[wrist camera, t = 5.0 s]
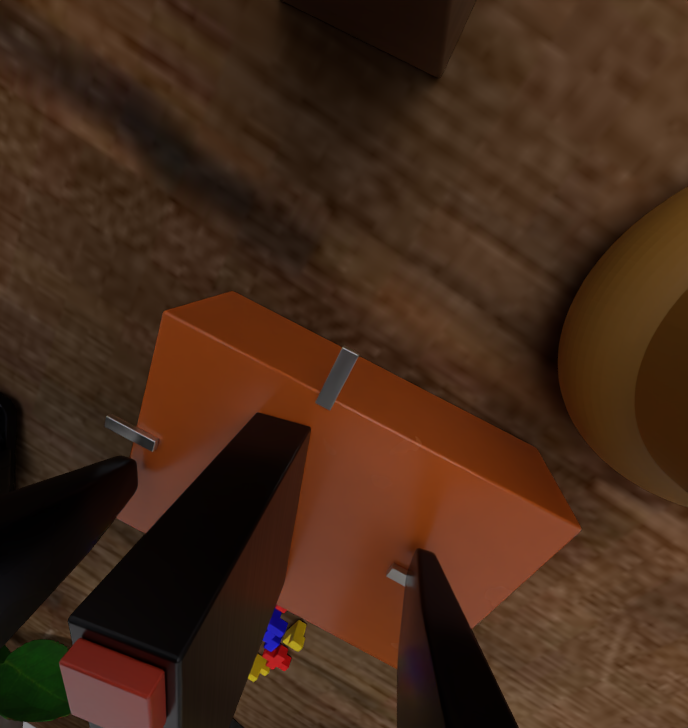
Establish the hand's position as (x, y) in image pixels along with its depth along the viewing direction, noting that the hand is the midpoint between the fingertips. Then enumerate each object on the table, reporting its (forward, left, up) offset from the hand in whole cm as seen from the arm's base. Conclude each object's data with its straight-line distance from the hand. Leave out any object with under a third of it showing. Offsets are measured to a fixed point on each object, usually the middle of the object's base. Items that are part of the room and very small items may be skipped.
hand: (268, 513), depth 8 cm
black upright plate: (0, 0, 0) cm, 0 cm away
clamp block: (+1, 0, -3) cm, 3 cm away
